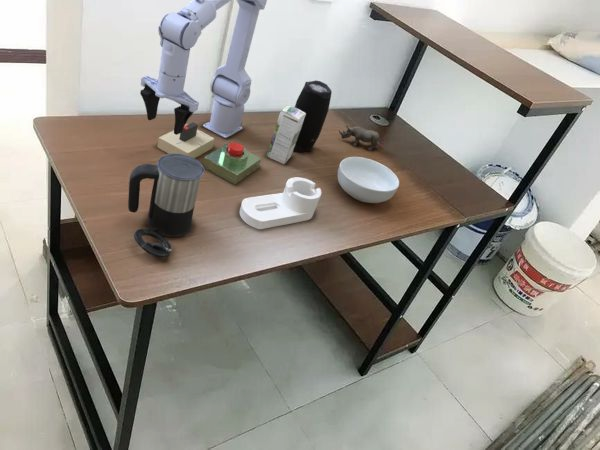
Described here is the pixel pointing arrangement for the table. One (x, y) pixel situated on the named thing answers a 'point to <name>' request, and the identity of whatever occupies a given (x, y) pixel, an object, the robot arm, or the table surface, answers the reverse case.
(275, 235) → the table surface
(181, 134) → the block
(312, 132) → the portable speaker
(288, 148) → the syrup box
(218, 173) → the push button base
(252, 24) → the robot arm
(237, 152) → the button
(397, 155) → the table surface
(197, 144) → the dial panel
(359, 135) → the rhino figurine
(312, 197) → the bracket
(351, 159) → the cereal bowl
